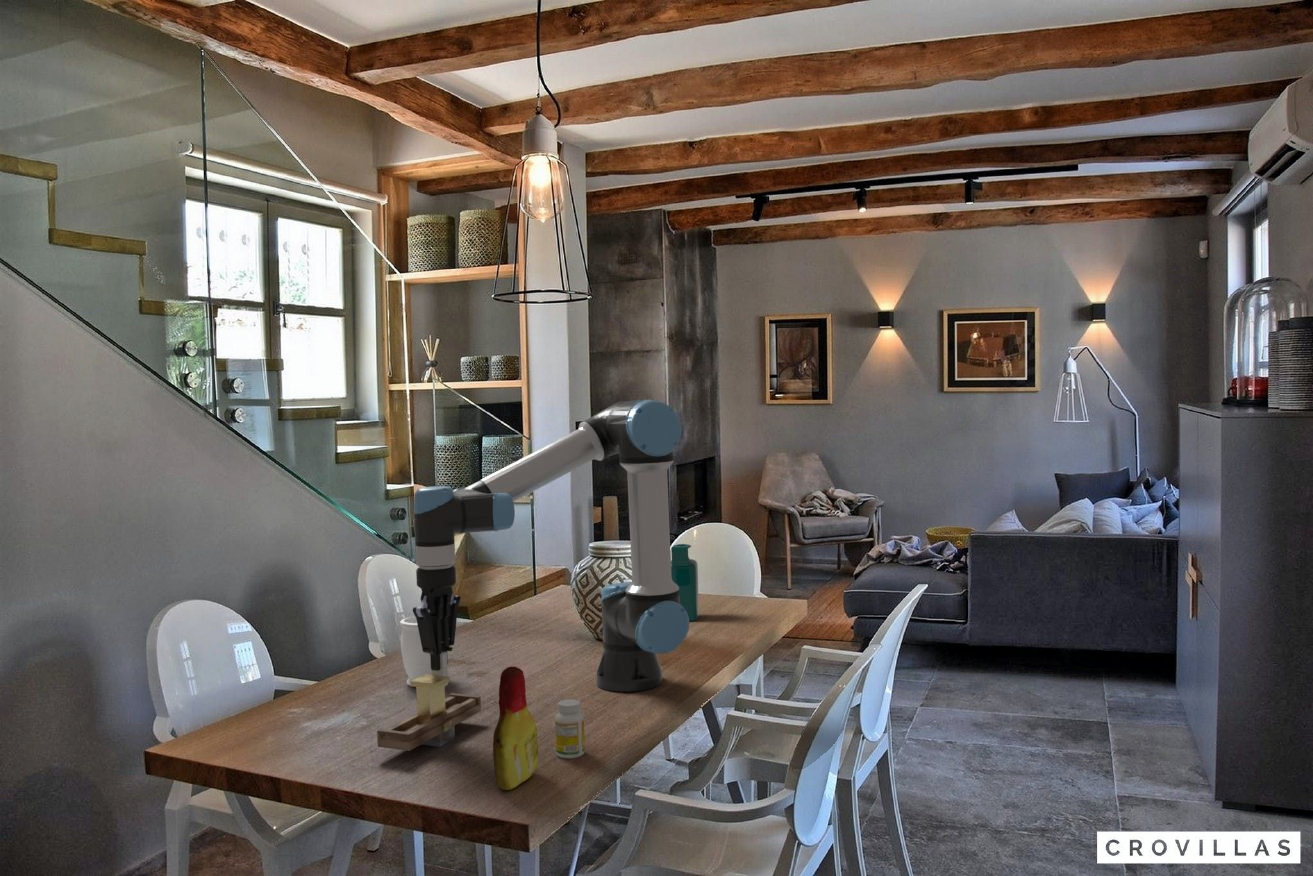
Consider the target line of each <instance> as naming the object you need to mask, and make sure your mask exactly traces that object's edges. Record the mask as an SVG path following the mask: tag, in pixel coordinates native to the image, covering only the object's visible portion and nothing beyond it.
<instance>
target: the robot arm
mask: <svg viewBox="0 0 1313 876" xmlns="http://www.w3.org/2000/svg"><path fill="white" fill-rule="evenodd" d="M681 437H682V425H681V420H680V418H679V416H678V414H677V412H676V411H675V410H674V409H673V408H672V407H671V406H669V404H666V403H665V402H662V401H659V400H655V399H648V398H646V399H637V400H636V399H635V400H634V399H633V400H632V399H631V400H630V399H627V400H622V401H618V402H616V403H613V404H611V405H610V406H608V407H607V408H605V409H603V410H601V411H599V412H598V413H596V414H594V415H592V416H591V417H589V418H587V419H585V420H583V421H581V422H580V423H579V425H578V429H576V430H574V431H572V432H569V433H568V434H566V435H564V436H562V437H560V438H559V439H557V440H555V441H553V442H551V443H549V444H547V445H545V446H543V447H541V448H539V449H538V450H536V451H534V452H531V453H530V454H528V455H526V456H523V457H522V458H520V459H518V460H516V461H513V462H512V463H510V464H508V465H506V466H505V467H503V468H501V469H499V470H497V471H495V472H493V473H491V474H489V475H487V476H485V477H483V478H482V479H480V480H479V481H476V482H474V483H472V484H470V485H468V486H467V487H464V486H463V487H458V488H456V489H453V488H452V487H451V486H448V485H447V486H446V485H445V486H444V485H441V486H440V485H438V486H435V485H434V486H423V487H420V488H419V487H418V488H417V489H416V490H415V492H414V497H413V498H414V499H413V500H414V501H413V517H414V518H413V519H414V533H415V534H414V537H415V540H414V541H415V564H416V566H418V567H417V569H416V570H415V571H416V572H415V573H416V586H417V587H418V588H419V589H421V595H420V603H419V604H418V606H413V608H412V613H413V616H415V617H416V620H417V625H418V630H419V635H420V640H421V645H422V651H423V652H425V653H429V654H430V660H431V670H432V675H439V676H449V673H448V670H449V669H448V664H449V662H448V661H449V659H448V656H449V655H448V652H452V651H453V647H451V646H454V644H455V640H456V631H457V618H458V609H459V605H460V602H461V596H460V595H456V594H454V593H453V588H452V587H453V586H455V585H456V584H457V577H456V576H457V572H456V569H457V568H456V567H455V565H454V564H455V563H456V545H455V544H456V543H455V542H456V541H455V536H456V534H457V535H458V534H467V533H468V534H471V533H483V532H498V531H504V530H509V529H511V528H512V527H513V525H514V522H515V518H516V517H515V516H516V515H515V512H516V511H515V504H514V503H515V502H516V501H519V500H520V499H522V498H524V497H526V496H528V495H529V494H531V493H533V492H535V491H537V490H539V489H541V488H542V487H544V486H547V485H548V484H550V483H552V482H553V481H556V480H557V479H559V478H561V477H564V476H565V475H568V473H570V472H573V471H574V470H576V469H578V468H581V467H583V465H586V464H588V463H589V462H591V461H593V460H596V461H600V462H601V461H604V460H605V459H606V458H609V457H611V456H614V455H617V454H618V455H619V465H620V466H621V467H622V468H623V469H624V470H625V471H626V472H627V473H626V474H627V475H626V476H627V495H628V518H629V519H628V521H629V538H630V562H631V563H630V564H631V581H628V582H627V581H626V582H619V583H618V582H617V583H612V584H611V583H610V584H606V585H605V586H603V588H602V589H601V599H600V603H601V625H602V627H601V628H602V653H601V657H600V660H599V664H598V667H597V671H596V673H595V674H596V677H595V679H596V686H597V687H598V688H601V689H603V690H607V691H611V692H612V691H614V692H640V691H641V692H642V691H647V690H651V689H655V688H657V687H658V686H660V685H661V684H663V670H662V668H661V665H660V663H659V660H658V656H657V655H664V654H668V653H671V652H673V651H675V650H676V649H678V648H679V647H680V645H681V644H682V643H683V642H684V641H685V639H686V638H687V636H688V632H689V629H690V621H689V617H688V614H687V612H686V610H685V609H684V607H683V606H682V605H681V604H680V598H679V586H678V585H676V584H675V583H674V582H673V581H672V576H671V560H672V552H671V537H670V536H671V534H670V532H671V531H670V512H669V511H670V508H669V507H670V506H669V485H668V484H669V483H668V470H669V468H670V467H671V466H672V465H673V463H674V462H675V460H674V459H675V457H674V450H675V449H676V447H677V446H678V444H679V442H680V439H681ZM448 685H449V682H448V683H446V684H445V687H447V686H448Z"/></svg>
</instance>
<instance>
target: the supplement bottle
mask: <svg viewBox="0 0 1313 876" xmlns="http://www.w3.org/2000/svg"><path fill="white" fill-rule="evenodd" d="M557 709H558V713H556V715H555V718H554V724H555V727H554V728H555V753H556V756H557V757H559V758H561V759H575V758H580V757H582V756H583V755H584V754H585V751H586V750H585V749H586V748H585V744H586V743H585V716H584V714H583V712H581V711H580V710H581V702H580V701H579V700H578V699H571V698H570V699H564V700H560V701H558V708H557Z"/></svg>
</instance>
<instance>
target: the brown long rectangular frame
mask: <svg viewBox="0 0 1313 876" xmlns="http://www.w3.org/2000/svg"><path fill="white" fill-rule="evenodd" d="M481 701H482V700H481V696H480V695H471V694H470V695H469V694H461V693H449V694H448V697H447V698H446V697H445V710H446V712H444V713H442V714H440V715H438V716H436V717H435V718H433V719H431V720H429V721H427V722H425V723H423V724H422V723H418V721H417V713H415V714H413V715H412V716H408V717H407V718H405V719H403V720H402V721H400V722H398V723H395V724H393V725H392V726H389V727H388V728H385V729H384V728H379V729H378V730H376V736H377V737H376V739H377V747H379V748H384V749H385V748H386V749H393V750H399V751H405V752H407V751H408V752H410V751H412V750H413V749H415V748H417V747H419V746H421V745H424V746H430V747H440V748H441V747H443V746H445V745H446V744H447V743H449V742H451V741H453V740H454V739H456V732H455V731H456V729H455V727H456V725H459V724H460V723H462V722H464V721H466V720H467V719H469V718H471V717H472V716H475V715H477V714H478V713H480V712H481V711H482V704H481V703H482V702H481Z"/></svg>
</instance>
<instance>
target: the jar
mask: <svg viewBox="0 0 1313 876" xmlns="http://www.w3.org/2000/svg"><path fill="white" fill-rule="evenodd" d="M399 623H400V624H399V625H400V627H401V628H402V631H401V634H400V635H401V637H400V651H401V652H400V653H401V657H402V660H403V661H402V662H403V667H404V671H405V672H406V675H407V676H408V678H407V680H406V684H407V686H409V687H412V686H411V684H410V681H412V680H414V679H416V678H419V677H421V676H423V675H425V674H429V675H432V670H431V660H430V654H429V653H425V652H423V651H422V645H421V640H420V635H419V630H418V625H417V620H416V617H415V615H413V616H408V617H406V618H403V619H401V620H400V621H399Z"/></svg>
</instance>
